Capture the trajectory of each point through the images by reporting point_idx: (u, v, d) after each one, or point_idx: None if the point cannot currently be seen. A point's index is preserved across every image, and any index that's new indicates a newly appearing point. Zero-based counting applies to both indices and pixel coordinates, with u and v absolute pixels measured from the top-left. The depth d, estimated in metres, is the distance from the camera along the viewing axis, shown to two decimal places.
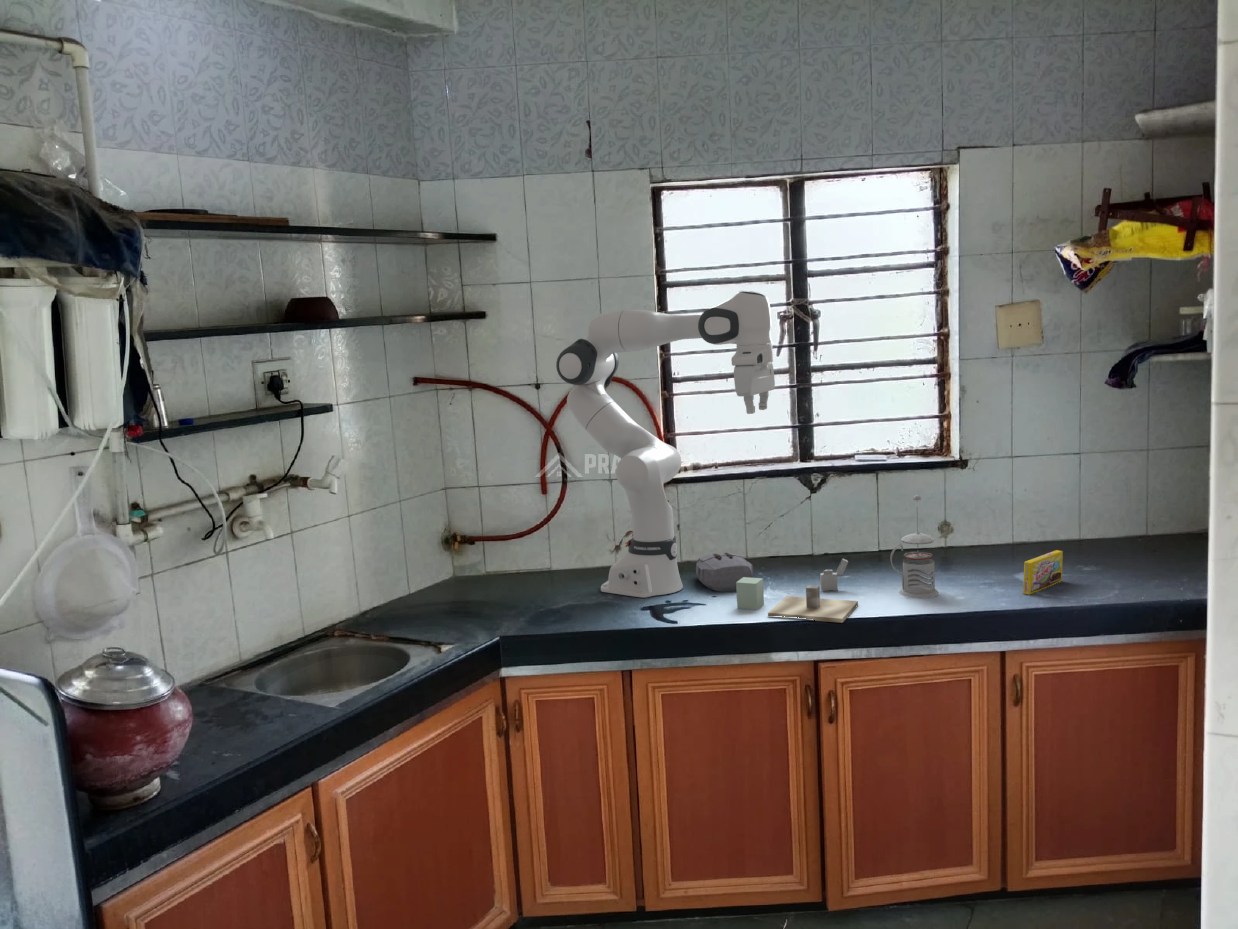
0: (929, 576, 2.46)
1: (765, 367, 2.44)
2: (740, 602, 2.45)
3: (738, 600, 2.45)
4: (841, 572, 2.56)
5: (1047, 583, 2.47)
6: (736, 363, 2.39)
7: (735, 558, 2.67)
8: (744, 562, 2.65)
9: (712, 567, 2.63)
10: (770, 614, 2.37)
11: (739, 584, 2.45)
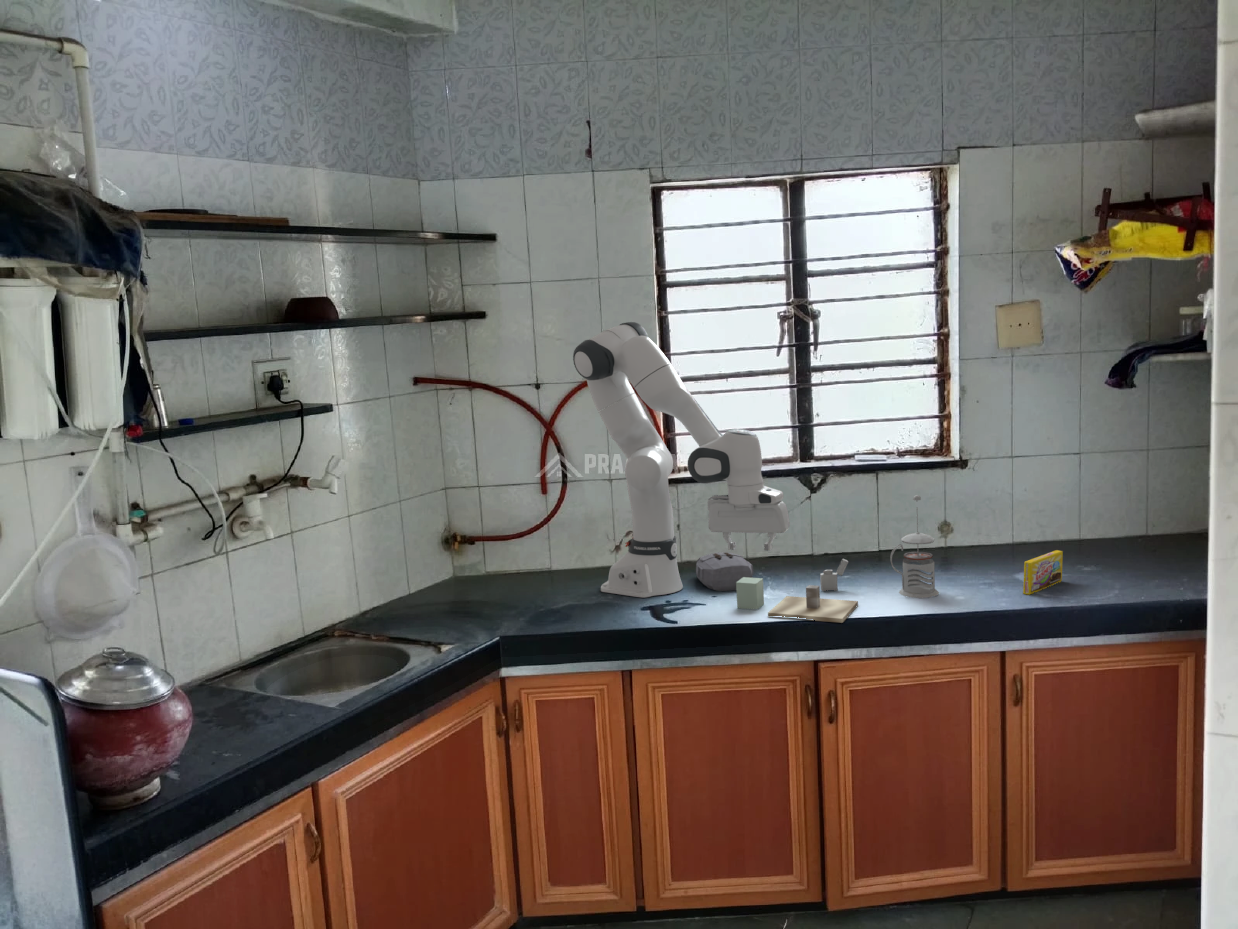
0: (929, 576, 2.46)
1: None
2: (740, 602, 2.45)
3: (738, 600, 2.45)
4: (841, 572, 2.56)
5: (1047, 583, 2.47)
6: (778, 501, 2.38)
7: (735, 558, 2.67)
8: (744, 562, 2.66)
9: (712, 567, 2.63)
10: (770, 614, 2.37)
11: (739, 584, 2.45)
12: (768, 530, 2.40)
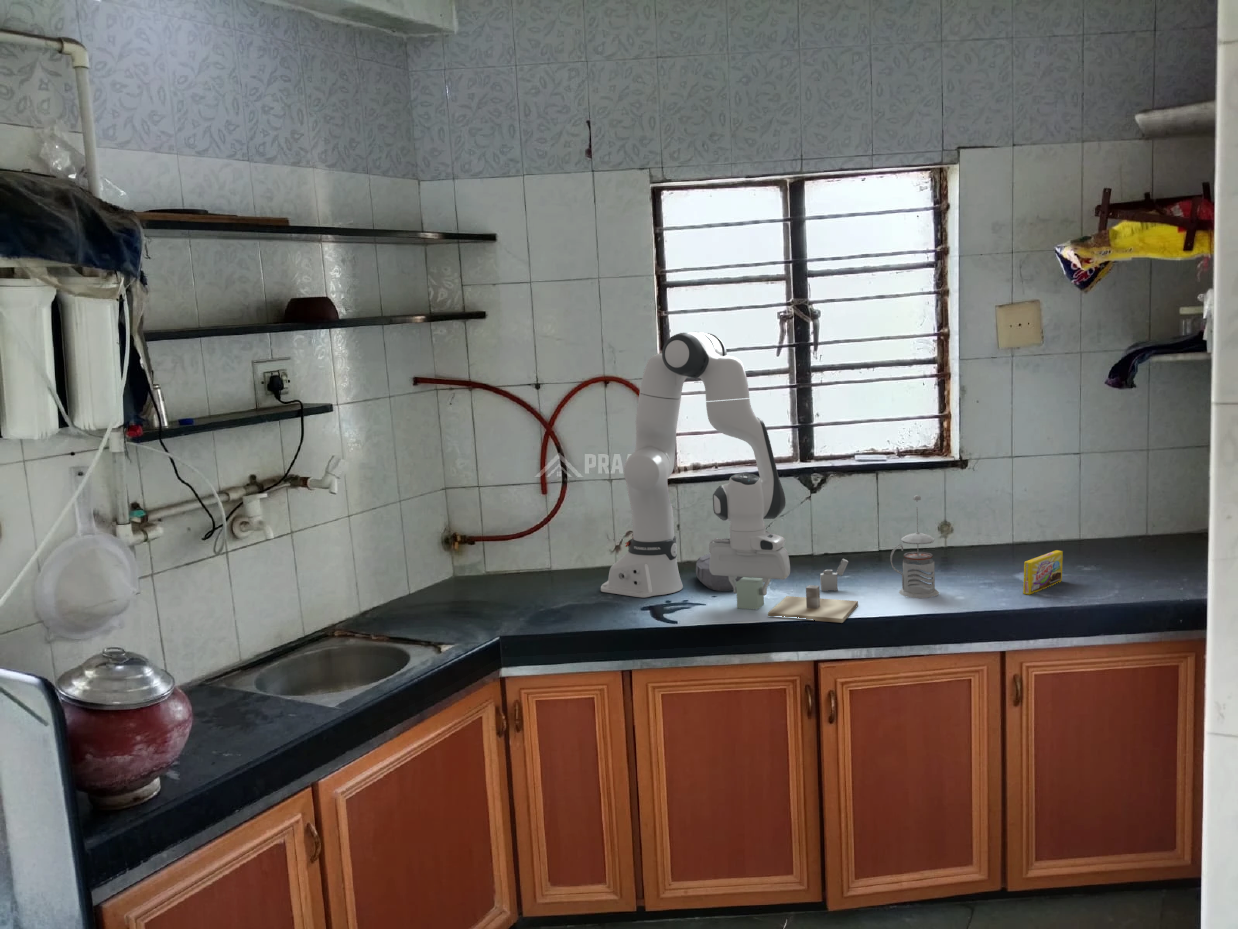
0: (929, 576, 2.46)
1: None
2: (740, 602, 2.45)
3: (738, 600, 2.45)
4: (841, 572, 2.56)
5: (1047, 583, 2.47)
6: (779, 547, 2.39)
7: None
8: None
9: None
10: (770, 614, 2.37)
11: (739, 584, 2.45)
12: (769, 576, 2.42)
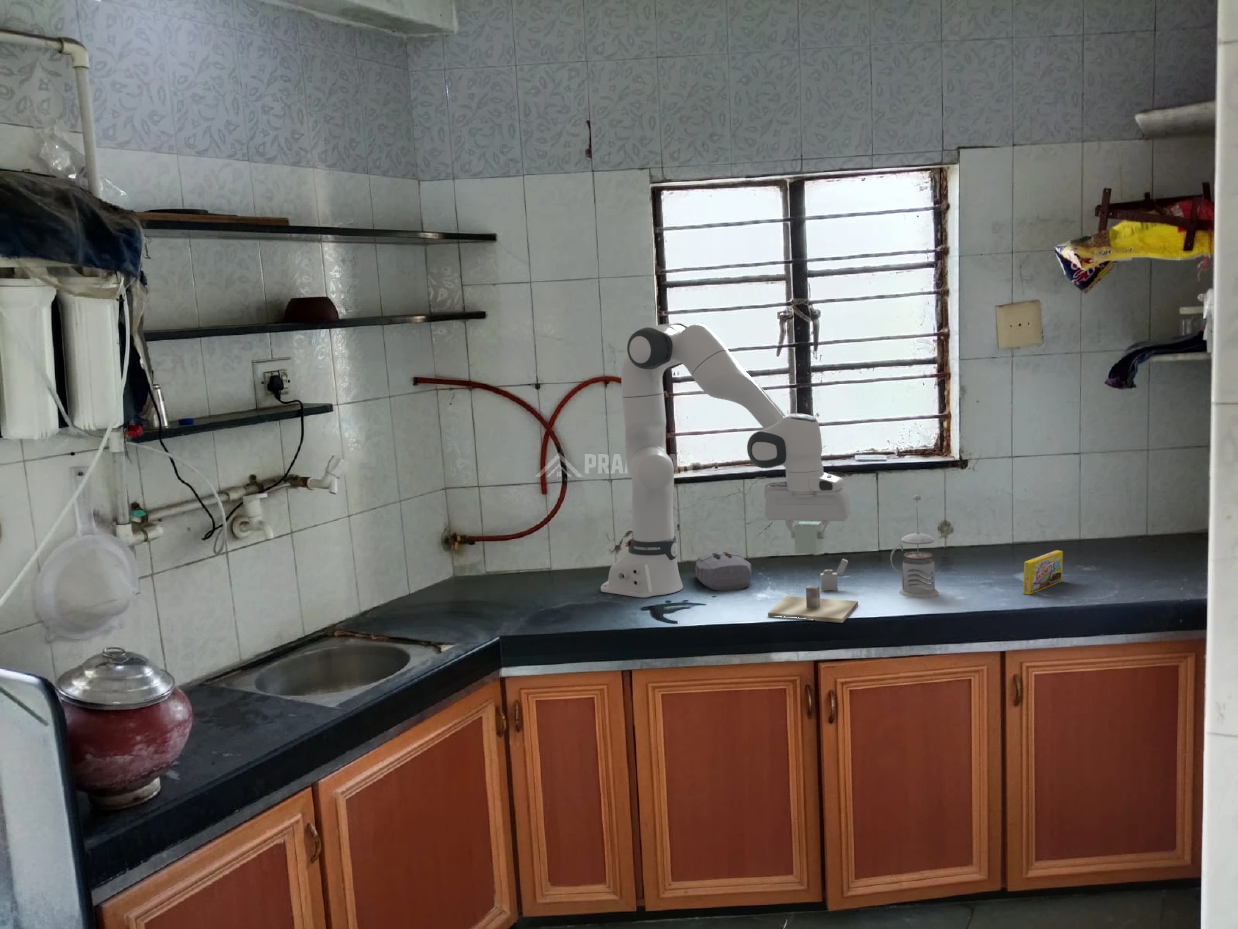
0: (929, 576, 2.46)
1: None
2: (798, 546, 2.36)
3: (796, 545, 2.36)
4: (841, 572, 2.56)
5: (1047, 583, 2.47)
6: (839, 487, 2.30)
7: (734, 557, 2.68)
8: (743, 561, 2.66)
9: (710, 566, 2.64)
10: (770, 614, 2.37)
11: (797, 528, 2.35)
12: (828, 518, 2.32)
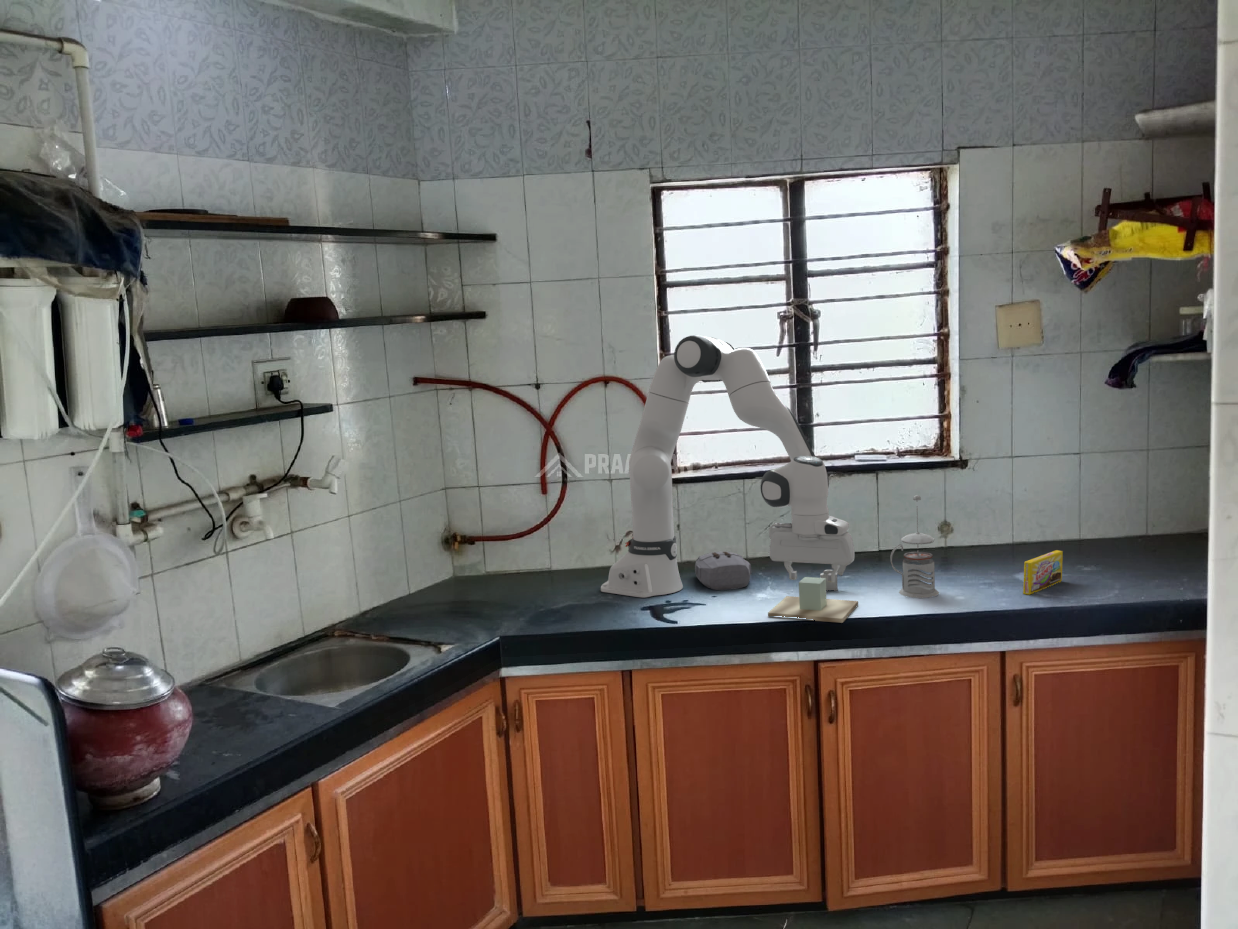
0: (929, 576, 2.46)
1: None
2: (802, 602, 2.38)
3: (801, 601, 2.38)
4: (841, 572, 2.56)
5: (1047, 583, 2.47)
6: (844, 532, 2.31)
7: (733, 557, 2.68)
8: (742, 561, 2.66)
9: (709, 566, 2.65)
10: (770, 614, 2.37)
11: (802, 584, 2.37)
12: (833, 561, 2.34)
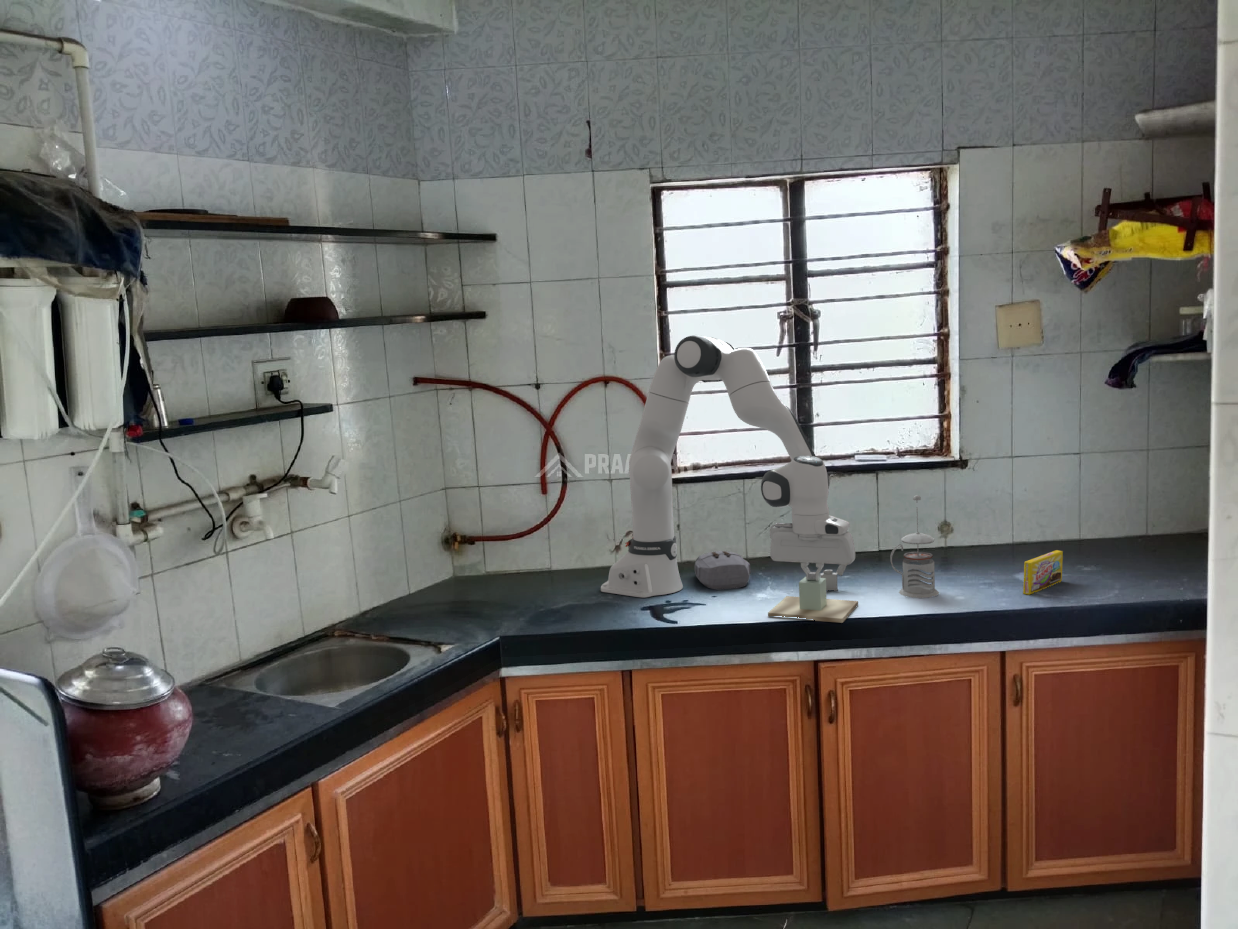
0: (929, 576, 2.46)
1: None
2: (802, 602, 2.38)
3: (801, 600, 2.38)
4: (841, 572, 2.56)
5: (1047, 583, 2.47)
6: (845, 531, 2.31)
7: (732, 557, 2.69)
8: (741, 561, 2.67)
9: (708, 565, 2.65)
10: (770, 614, 2.37)
11: (802, 584, 2.37)
12: (833, 561, 2.34)
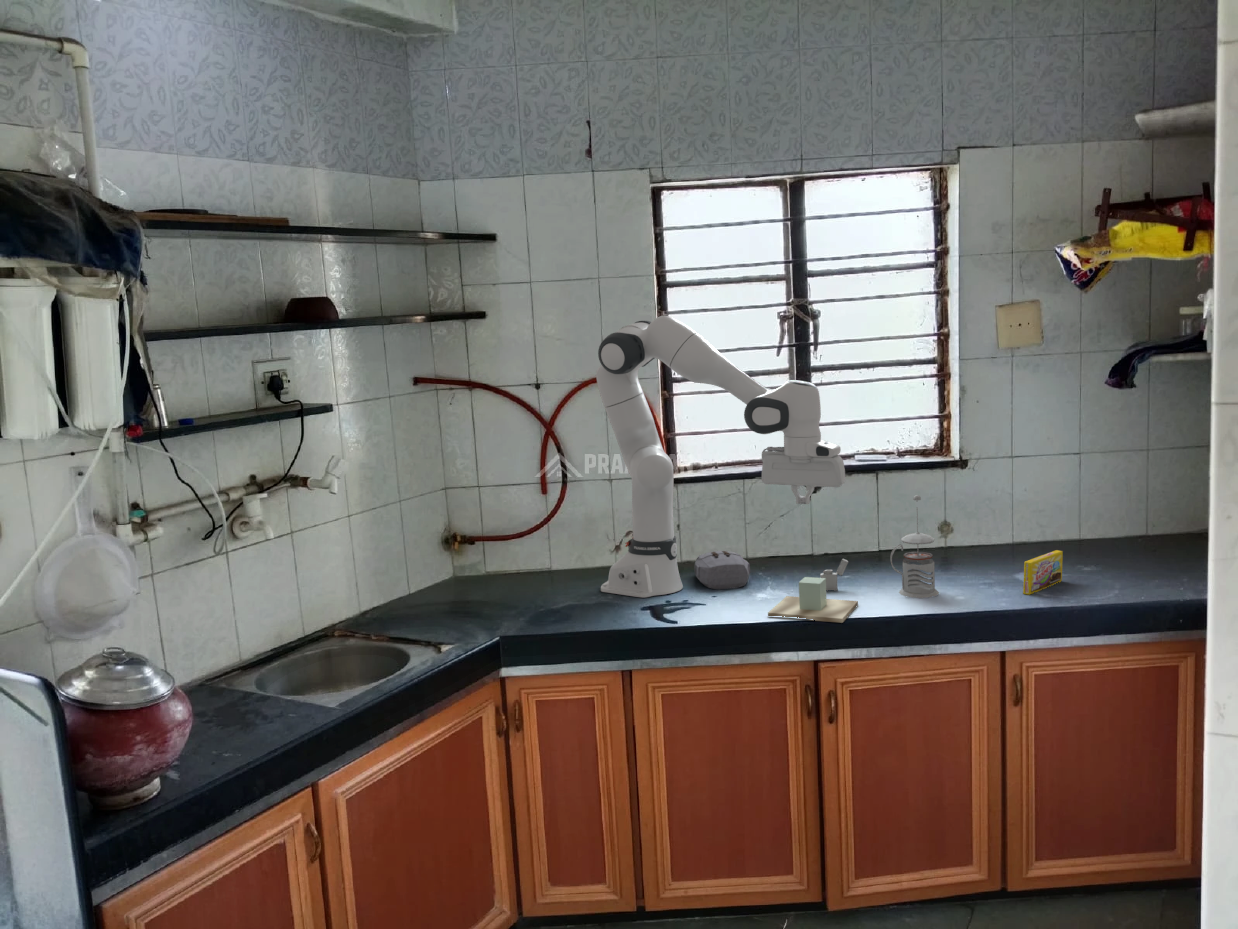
0: (929, 576, 2.46)
1: None
2: (802, 602, 2.38)
3: (801, 601, 2.38)
4: (841, 572, 2.56)
5: (1047, 583, 2.47)
6: (835, 454, 2.34)
7: (732, 556, 2.69)
8: (740, 560, 2.67)
9: (708, 565, 2.66)
10: (770, 614, 2.37)
11: (802, 584, 2.37)
12: (823, 484, 2.36)
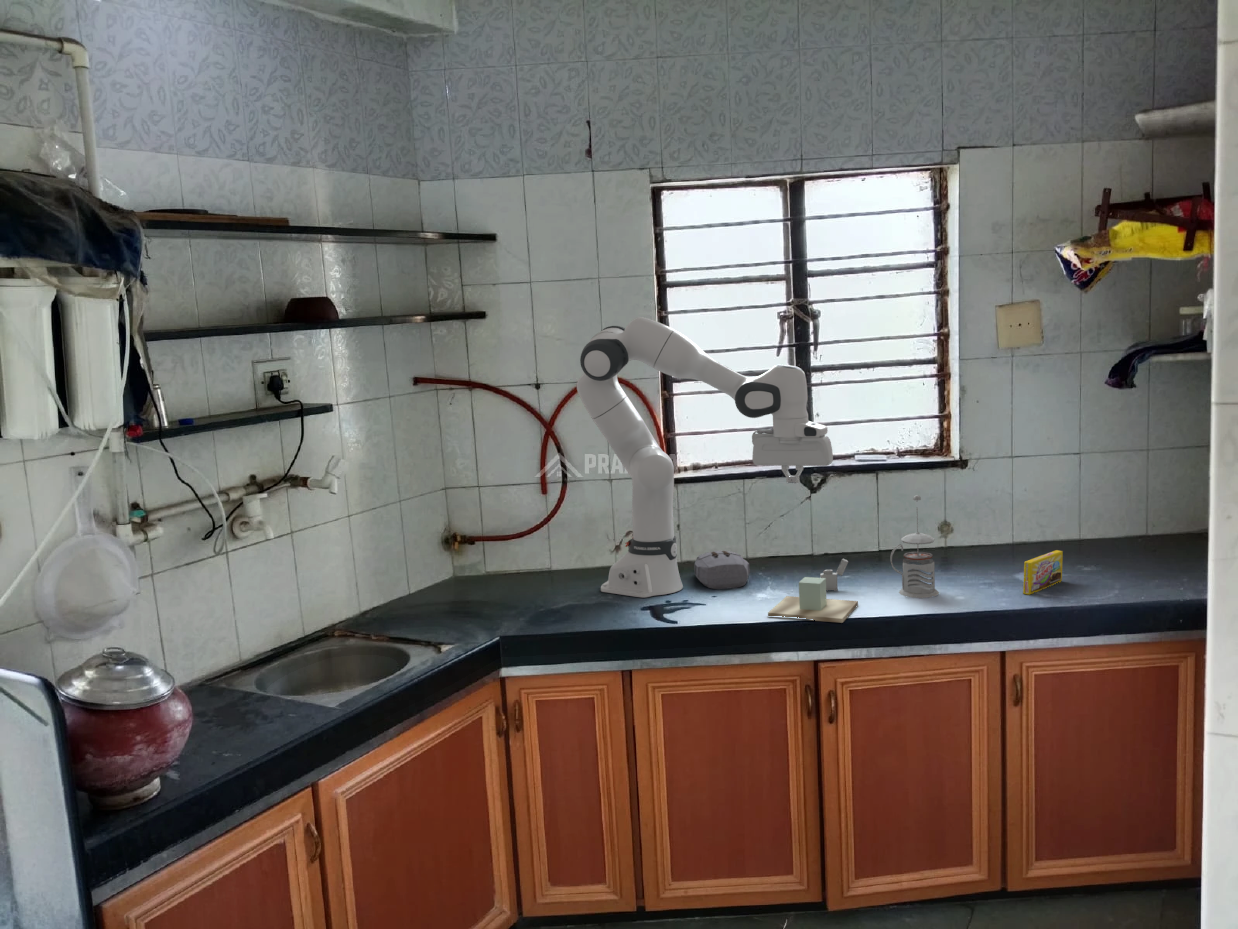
0: (929, 576, 2.46)
1: None
2: (802, 602, 2.38)
3: (801, 601, 2.38)
4: (841, 572, 2.56)
5: (1047, 583, 2.47)
6: (822, 434, 2.44)
7: (731, 556, 2.69)
8: (740, 560, 2.67)
9: (707, 565, 2.66)
10: (770, 614, 2.37)
11: (802, 584, 2.37)
12: (812, 463, 2.46)
